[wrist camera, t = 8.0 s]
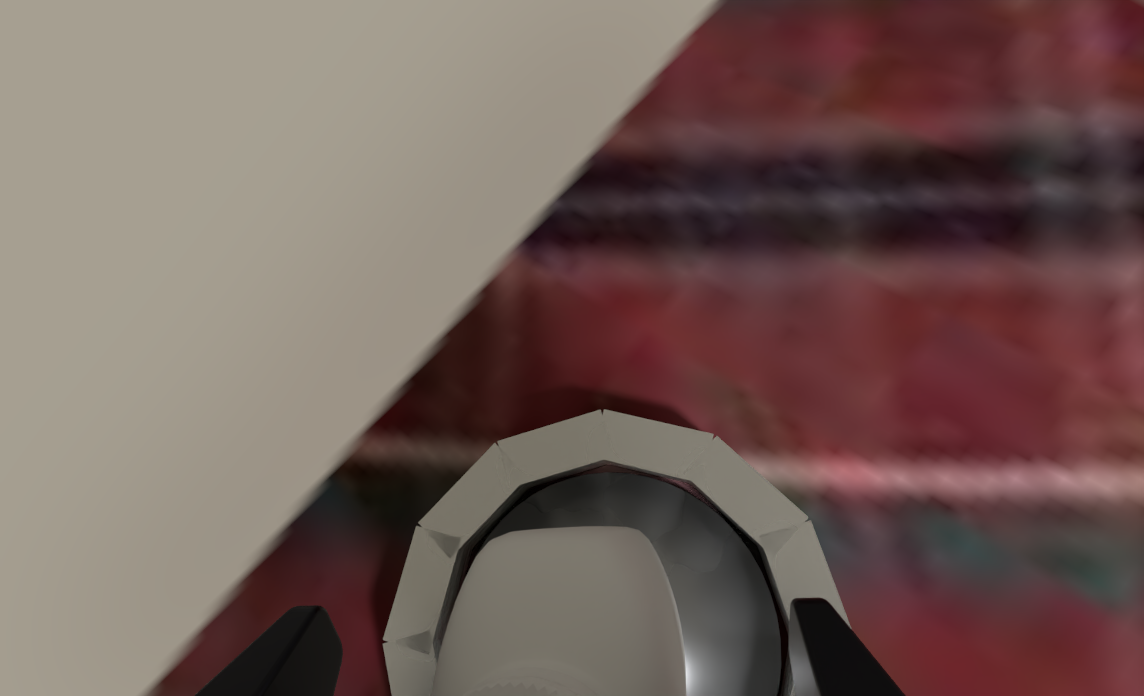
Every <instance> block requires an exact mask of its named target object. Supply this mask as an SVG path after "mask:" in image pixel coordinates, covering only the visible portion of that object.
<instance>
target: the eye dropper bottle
mask: <svg viewBox="0 0 1144 696" xmlns="http://www.w3.org/2000/svg"><path fill="white" fill-rule="evenodd" d="M431 696H686V666H685V651H684V642H683V635H682V629H681V623H680V618H679V614H678V610H677V606H676V602H675V599H674V595H673V592H672V589H671V586H670V583H669V580H668V577H667V575H666V573H665V570H664V568H663V565H662V563H661V561H660V559H659V557H658V555H657V553H656V551H655V549H654V547H653V545H652V544H651V542H650V540H649V539H648V538H647V537H646V536H645V535H644V534H643V533H642V532H641V531H640V530H637V529H633V528H629V527H618V526H582V527H563V528H545V529H532V530H522V531H513V532H509V533H506V534H504V535H502V536H499V537H497V538H494V539H492V540H490V541H489V542H488V543H487V544H486V545H485V547H484V548H483V549H482V550H481V551H480V552H479V553H478V555H477V556H476V557H475V559H474V561H473V564H472V566H471V568H470V570H469V572H468V574H467V576H466V578H465V580H464V582H463V584H462V587H461V589H460V592H459V594H458V596H457V599H456V601H455V604H454V607H453V610H452V613H451V616H450V619H449V622H448V625H447V628H446V632H445V635H444V639H443V642H442V646H441V649H440V653H439V658H438V662H437V667H436V671H435V676H434V682H433V688H432V694H431Z"/></svg>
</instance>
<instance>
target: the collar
mask: <svg viewBox="0 0 1144 696" xmlns="http://www.w3.org/2000/svg"><path fill="white" fill-rule="evenodd" d="M712 439H713V434H711V433H707V432H703V431H698V430H694V429H689V428H685V427H681V426H676V425H672V424H667V423H663V422H658V421H654V420H650V419H645V418H641V417H636V416H632V415H628V414H623V413H619V412H614V411H610V410H605V409H604V411H603V412H602V411H601V409H600V410H597V411H594V412H591V413H587V414H584V415H581V416H577V417H574V418H571V419H568V420H564V421H561V422H558V423H555V424H551V425H548V426H545V427H542V428H538V429H535V430H532V431H529V432H525V433H522V434H519V435H516V436H512V437H509V438H506V439H503V440H499V441H498V444H497V443H494V444H493V445H492V446H491V447H490V448H489V449H488V450H487V451H486V452H485V453H484V454H483V456H482V457H481V458H480V459H479V460H478V461H477V462H476V463H475V464H474V465H473V466H472V467H471V468H470V469H469V470H468V471H467V472H466V473H465V474H464V475H463V476H462V477H461V479H460V480H459V481H458V482H457V483H456V484H455V485H454V486H453V487H452V488H451V489H450V490H449V491H448V492H447V493H446V494H445V495H444V496H443V497H442V498H441V499H440V500H439V501H438V503H437V504H436V505H435V506H434V507H433V508H432V509H431V510H430V511H429V512H428V513H427V514H426V515H425V516H424V517H423V518H422V519H421V520H420V521H419V522H418V523H419V524H420V525H421V526H416V528H415V532H414V535H413V539H412V542H411V545H410V549H409V552H408V556H407V559H406V562H405V566H404V569H403V573H402V576H401V579H400V583H399V586H398V590H397V593H396V596H395V600H394V603H393V607H392V610H391V613H390V617H389V620H388V624H387V627H386V631H385V634H384V637H383V640H385V641H388V642H386V643H383V649H384V654H385V660H386V666H387V671H388V677H389V683H390V688H391V694H392V696H431V694H432V688H433V682H434V676H435V671H436V667H437V662H438V658H439V653H440V649H441V646H442V642H443V639H444V635H445V632H446V628H447V625H448V622H449V619H450V616H451V613H452V610H453V607H454V604H455V601H456V599H457V596H458V594H459V592H460V589H461V587H462V584H463V582H464V578H465V575H466V571H467V567H468V564H469V560H470V556H471V553H472V549H473V548H474V547H475V545H476V544H477V543H478V542H479V541H480V540H481V539H482V538H483V537H484V536H485V535H486V534H487V533H488V532H489V531H490V530H491V529H492V527H493V526H494V525H495V524H496V523H497V522H498V521H499V520H500V519H501V518H502V517H503V516H504V515H505V514H506V513H507V512H508V511H509V509H510V508H511V507H512V506H513V505H514V504H515V503H516V502H517V501H518V500H519V499H520V498H521V497H522V496H523V495H524V494H525V492H526V491H527V490H528V489H529V488H530V487H533V486H537V485H540V484H543V483H547V482H550V481H553V480H557V479H560V478H563V477H567V476H570V475H573V474H577V473H580V472H583V471H587V470H590V469H593V468H597V467H600V466H603V465H607V464H611V465H615V466H619V467H623V468H627V469H631V470H636V471H640V472H644V473H648V474H652V475H656V476H660V477H664V478H668V479H672V480H677V481H681V482H685V483H689V484H691V485H692V486H693V487H694V488H695V489H696V490H697V491H699V492H700V493H701V494H702V495H703V496H704V497H705V498H706V499H707V500H708V501H709V502H710V503H711V504H713V505H714V506H715V507H716V508H717V509H718V510H719V511H720V512H721V513H722V514H723V515H724V516H725V517H727V518H728V519H729V520H730V521H731V522H732V523H733V524H734V525H735V526H736V527H737V528H738V529H739V530H741V531H742V532H743V533H744V534H745V535H746V536H747V537H748V538H749V539H750V540H751V541H752V542H753V543H755V544H756V545H757V547H758V550H759V552H760V555H761V558H762V561H763V564H764V567H765V570H766V573H767V576H768V578H769V581H770V584H771V587H772V590H773V593H774V596H775V599H776V601H777V604H778V607H779V610H780V613H781V616H782V619H783V622H784V624H785V627H786V630H787V633H788V636H789V619H790V604H791V602H792V600H793V599H795V598H824V599H825V600H827V601H828V602H829V603H830V604H831V605H832V606H833V607H834V609H835V610H836V611H837V612H838V614H839V615H840V616H841V617H842V618H843V620H844V621H845V622H846V623H847V625H848V626H849V627H850V624H849V621H848V618H847V616H846V613H845V610H844V608H843V605H842V602H841V600H840V597H839V594H838V592H837V589H836V586H835V584H834V581H833V578H832V576H831V573H830V570H829V568H828V565H827V562H826V560H825V557H824V554H823V552H822V549H821V546H820V544H819V541H818V538H817V536H816V533H815V530H814V528H813V525H812V522H811V521H806V520H807V519H808V518H809V517H808V516H806V515H805V514H804V513H803V512H802V511H801V510H800V509H799V508H797V507H796V506H795V505H794V504H793V503H792V502H791V501H790V500H788V499H787V498H786V497H785V496H784V495H783V494H782V493H781V492H779V491H778V490H777V489H776V488H775V487H774V486H773V485H772V484H770V483H769V482H768V481H767V480H766V479H765V478H764V477H763V476H761V475H760V474H759V473H758V472H757V471H756V470H755V469H754V468H752V467H751V466H750V465H749V464H748V463H747V462H746V461H745V460H743V459H742V458H741V457H740V456H739V455H738V454H737V453H736V452H734V451H733V450H732V449H731V448H730V447H729V446H728V445H727V444H725V443H724V442H723V441H722V440H721V439H720V438H719V437H718V436H716V437H715V438H714V439H713V440H712ZM582 526H618V527H629V528H633V529H637V530H640V531H641V532H642V533H643V534H644V535H645V536H646V537H647V538H648V539H649V540H650V542H651V544H652V545H653V547H654V549H655V551H656V553H657V555H658V557H659V559H660V561H661V563H662V565H663V568H664V570H665V573H666V575H667V577H668V580H669V583H670V586H671V589H672V592H673V595H674V599H675V602H676V606H677V610H678V614H679V618H680V623H681V629H682V635H683V642H684V651H685V666H686V696H777V694H778V690H779V682H780V672H781V639H780V632H779V626H778V619H777V614H776V611H775V607H774V604H773V600H772V596H771V593H770V591H769V588H768V586H767V583H766V581H765V579H764V576H763V574H762V571H761V570H760V568H759V566H758V564H757V563H756V561H755V559H754V557H753V556H752V554H751V552H750V551H749V549H748V548H747V547H746V545H745V544H744V543H743V541H742V540H741V538H740V537H739V536H738V534H737V533H736V532H735V531H734V530H733V529H732V528H731V527H730V526H729V525H728V524H727V523H726V522H725V520H724V519H723V518H722V517H721V516H719V515H718V514H717V513H716V512H714V511H713V510H712V509H711V508H710V507H708V506H707V505H706V504H705V503H703V502H702V501H700V500H698V499H697V498H695V497H694V496H692V495H691V494H689V493H687V492H686V491H683V490H681V489H679V488H677V487H675V486H673V485H670V484H668V483H666V482H662V481H659V480H656V479H653V478H650V477H646V476H640V475H635V474H629V473H609V472H607V473H596V474H586V475H582V476H578V477H573V478H569V479H566V480H563V481H561V482H558V483H555V484H553V485H550V486H548V487H546V488H544V489H542V490H541V491H539V492H537V493H535V494H533V495H531V496H530V497H529V498H527V499H526V500H525V501H523V502H522V503H520V504H519V505H518V506H516V507H515V508H514V509H513V510H512V511H511V512H510V513H509V514H508V515H506V516H505V517H504V518H503V519H502V520H501V521H500V522H499V524H498V525H497V526H496V527H495V528H494V530H493V531H492V532H491V533H490V535H489V536H488V537H487V539H486V540H485V542H484V543H483V545H482V547H481V548H480V550H479V551H478V553H479V552H480V551H481V550H482V549H483V548H484V547H485V545H486V544H487V543H488V542H489V541H490V540H492V539H494V538H497V537H499V536H502V535H504V534H506V533H509V532H513V531H522V530H532V529H545V528H563V527H582ZM478 553H477V555H478ZM477 555H476V556H477ZM472 564H473V563H472ZM471 566H472V565H471ZM470 568H471V567H470ZM469 570H470V569H469ZM468 572H469V571H468ZM850 628H851V627H850ZM780 696H796V692H795V686H794V680H793V674H792V668H791V662H790V655H789V644H788V650H787V656H786V662H785V668H784V674H783V680H782V686H781V692H780Z"/></svg>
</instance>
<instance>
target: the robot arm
mask: <svg viewBox="0 0 1144 696" xmlns="http://www.w3.org/2000/svg"><path fill="white" fill-rule="evenodd" d="M342 655H343V651H342V644H341V641H340V638H339V636H338V634H337V632H336V630H335V628H334V626H333V623H332V621H331V619H330V617H329V615H328V613H327V611H326V609H324V608H323V607H322V606H296V607H293V608H291V609H290V610H288V611H287V612H286V613H285V614H284V615H282V616H281V617H280V618H279V619H278V620H277V621H276V622H275V623H274V624H273V625H271V626H270V627H269V628H268V629H267V630H266V631H265V632H264V633H263V634H262V635H260V636H259V637H258V638H257V639H256V640H255V641H254V642H253V643H252V644H251V645H249V646H248V647H247V648H246V649H245V650H244V651H243V652H242V653H241V654H240V655H238V656H237V657H236V658H235V659H234V660H233V661H232V662H231V663H230V664H229V665H227V666H226V667H225V668H224V669H223V670H222V671H221V672H220V673H219V674H218V675H216V676H215V677H214V678H213V679H212V680H211V681H210V682H209V683H208V684H207V685H205V686H204V687H203V688H202V689H201V690H200V691H199V692H198V693H197V694H196V695H194V696H333V695H334V691H335V687H336V683H337V679H338V675H339V671H340V667H341V662H342ZM789 655H790V662H791V668H792V674H793V680H794V686H795V692H796V696H905V695H904V693H903V692H902V691H901V690H900V688H899V687H898V686H897V685H896V684H895V682H894V681H893V680H892V679H891V677H890V676H889V675H888V674H887V672H886V671H885V670H884V669H883V668H882V666H881V665H880V664H879V663H878V661H877V660H876V659H875V658H874V657H873V655H872V654H871V653H870V652H869V650H868V649H867V648H866V647H865V645H864V644H863V643H862V642H861V641H860V639H859V638H858V637H857V636H856V634H855V633H854V632H853V631H852V629H851V628H850V627H849V626H848V625H847V623H846V622H845V621H844V620H843V618H842V617H841V616H840V615H839V614H838V612H837V611H836V610H835V609H834V607H833V606H832V605H831V604H830V603H829V602H828V601H827V600H825V599H824V598H795V599H793V600H792V602H791V604H790V619H789Z"/></svg>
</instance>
